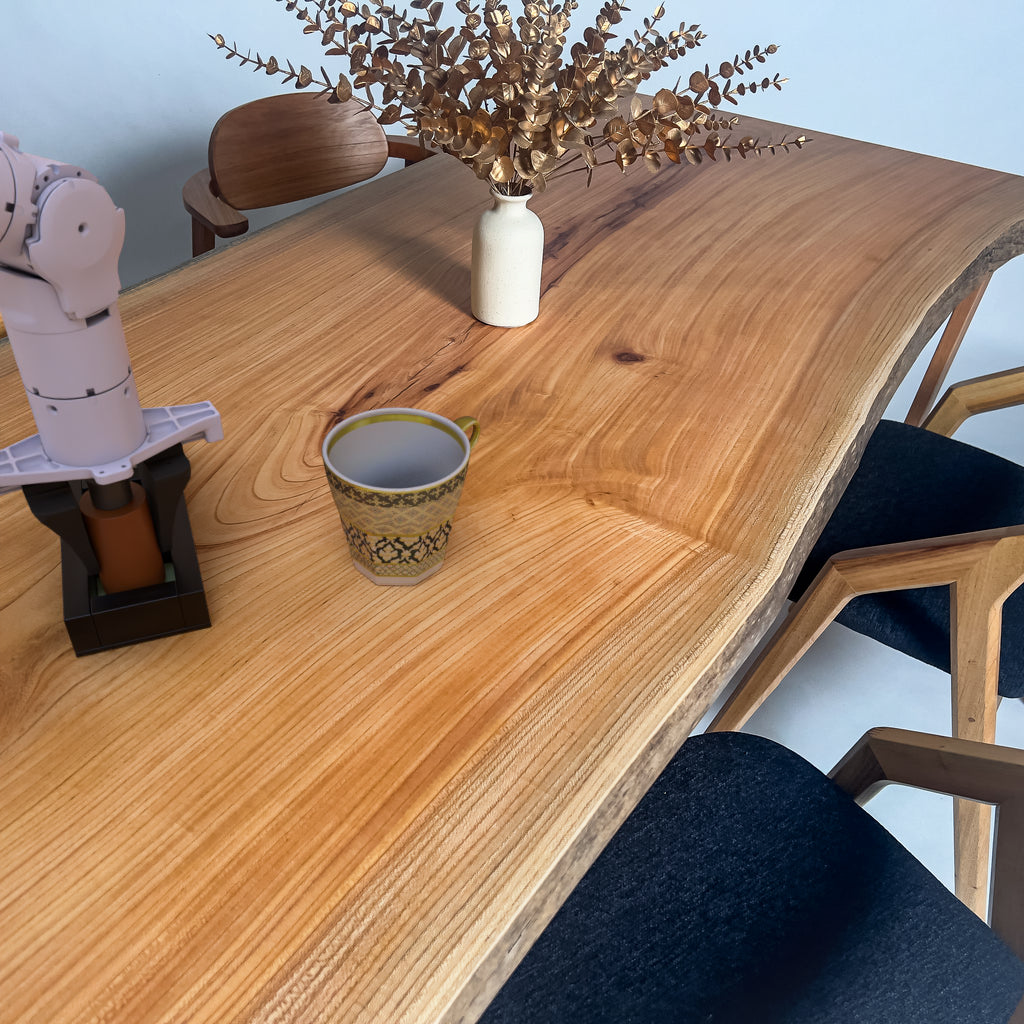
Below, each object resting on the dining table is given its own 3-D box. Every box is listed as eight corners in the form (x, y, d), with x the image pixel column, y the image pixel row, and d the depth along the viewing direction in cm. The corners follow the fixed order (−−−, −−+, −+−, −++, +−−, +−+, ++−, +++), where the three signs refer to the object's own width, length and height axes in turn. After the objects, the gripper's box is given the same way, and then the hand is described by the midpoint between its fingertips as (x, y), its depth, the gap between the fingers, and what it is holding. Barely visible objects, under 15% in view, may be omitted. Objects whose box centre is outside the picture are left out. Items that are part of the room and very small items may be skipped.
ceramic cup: (393, 625, 62) (389, 511, 56) (303, 555, 67) (290, 443, 61) (521, 541, 70) (530, 432, 63) (431, 483, 75) (432, 377, 68)
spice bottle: (107, 608, 59) (74, 499, 53) (99, 569, 62) (67, 462, 56) (171, 591, 61) (145, 484, 55) (160, 555, 63) (134, 449, 58)
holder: (76, 658, 58) (63, 620, 56) (66, 466, 74) (55, 431, 71) (212, 627, 61) (204, 590, 59) (174, 448, 76) (167, 414, 74)
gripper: (-54, 444, 45) (22, 633, 54) (228, 374, 52) (256, 551, 61) (-76, 380, 50) (-3, 564, 58) (187, 323, 57) (218, 496, 65)
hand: (127, 554), depth 60 cm, fingers closed on spice bottle, 4 cm apart
